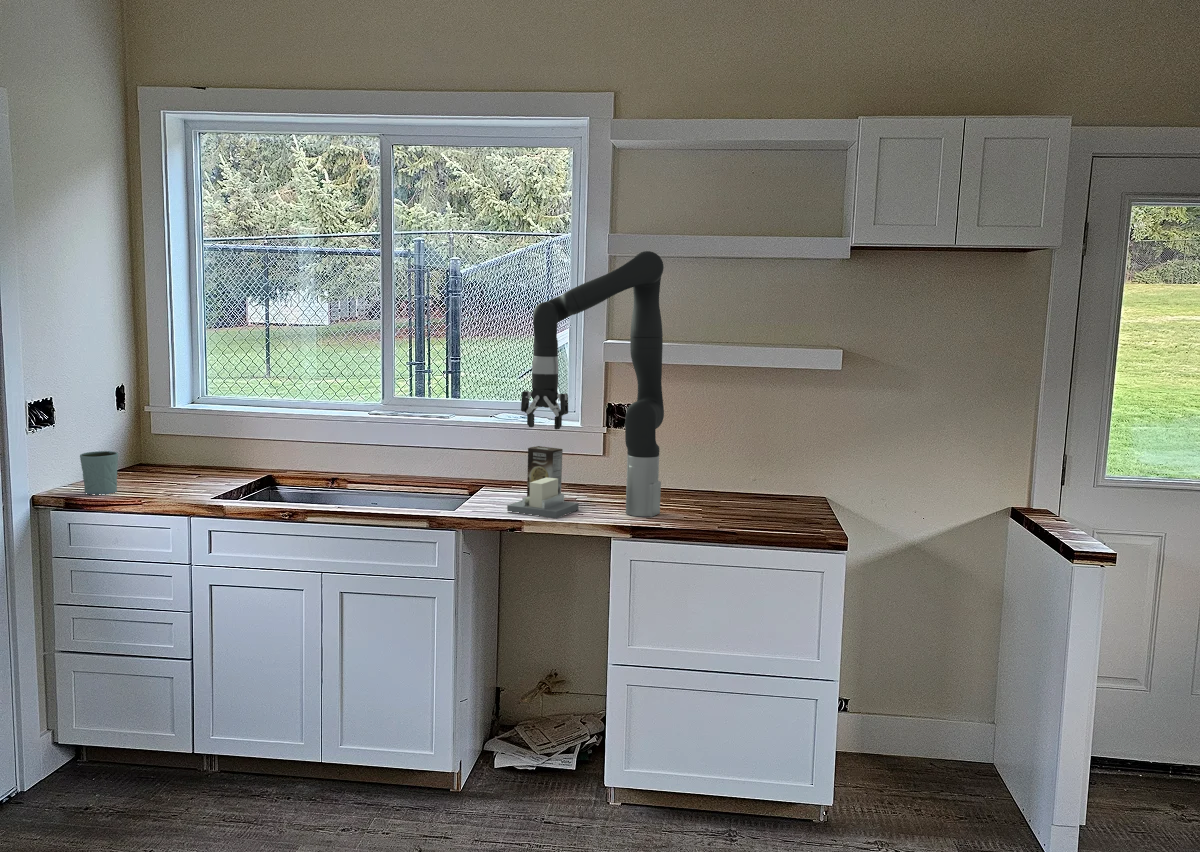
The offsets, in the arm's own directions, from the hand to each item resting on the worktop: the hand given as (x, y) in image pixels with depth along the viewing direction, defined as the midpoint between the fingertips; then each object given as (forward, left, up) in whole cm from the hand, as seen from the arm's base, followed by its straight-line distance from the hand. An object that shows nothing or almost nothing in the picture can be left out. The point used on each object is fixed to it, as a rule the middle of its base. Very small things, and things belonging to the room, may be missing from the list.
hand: (544, 428), depth 278 cm
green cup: (+125, +49, -24) cm, 136 cm away
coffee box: (+8, -15, -25) cm, 30 cm away
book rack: (0, 0, -24) cm, 24 cm away
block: (0, 0, -22) cm, 22 cm away
